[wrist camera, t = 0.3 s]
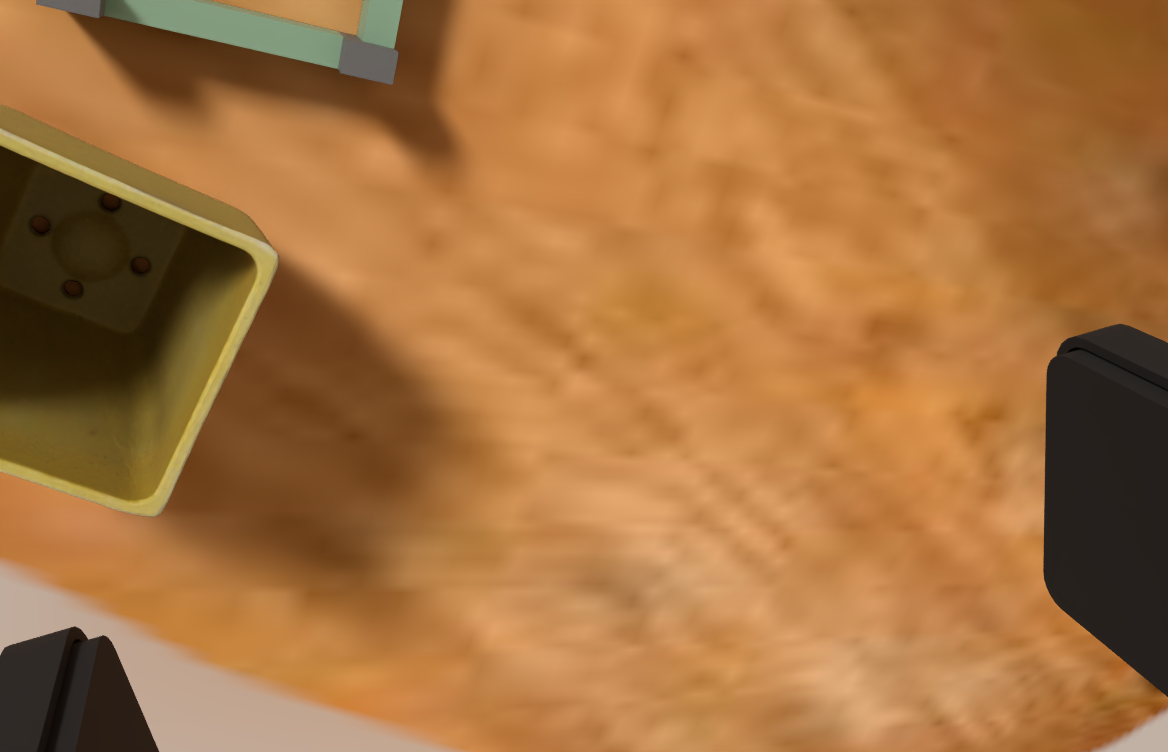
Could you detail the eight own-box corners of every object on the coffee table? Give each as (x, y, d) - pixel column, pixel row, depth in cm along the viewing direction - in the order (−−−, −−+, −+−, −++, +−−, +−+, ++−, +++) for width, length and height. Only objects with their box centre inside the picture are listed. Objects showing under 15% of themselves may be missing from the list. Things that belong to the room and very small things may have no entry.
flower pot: (278, 184, 37) (287, 254, 29) (176, 403, 39) (157, 526, 31) (6, 58, 33) (-71, 98, 25) (-94, 306, 35) (-195, 416, 27)
